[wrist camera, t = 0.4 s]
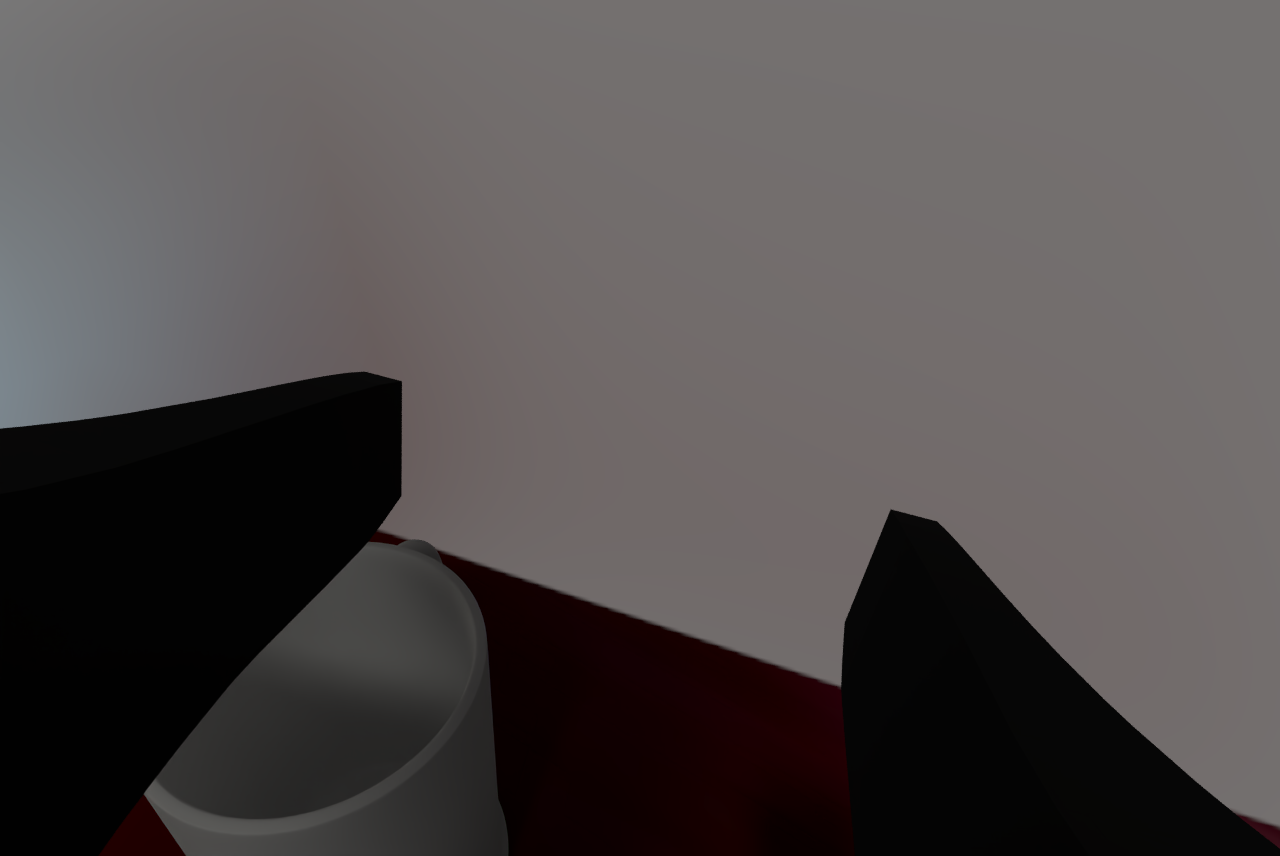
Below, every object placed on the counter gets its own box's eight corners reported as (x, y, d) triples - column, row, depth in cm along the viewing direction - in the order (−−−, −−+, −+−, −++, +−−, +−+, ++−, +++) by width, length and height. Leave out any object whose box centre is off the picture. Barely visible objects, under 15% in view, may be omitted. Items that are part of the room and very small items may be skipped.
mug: (372, 660, 30) (322, 446, 23) (560, 700, 29) (567, 492, 22) (183, 988, 21) (0, 794, 14) (453, 1060, 20) (407, 893, 13)
